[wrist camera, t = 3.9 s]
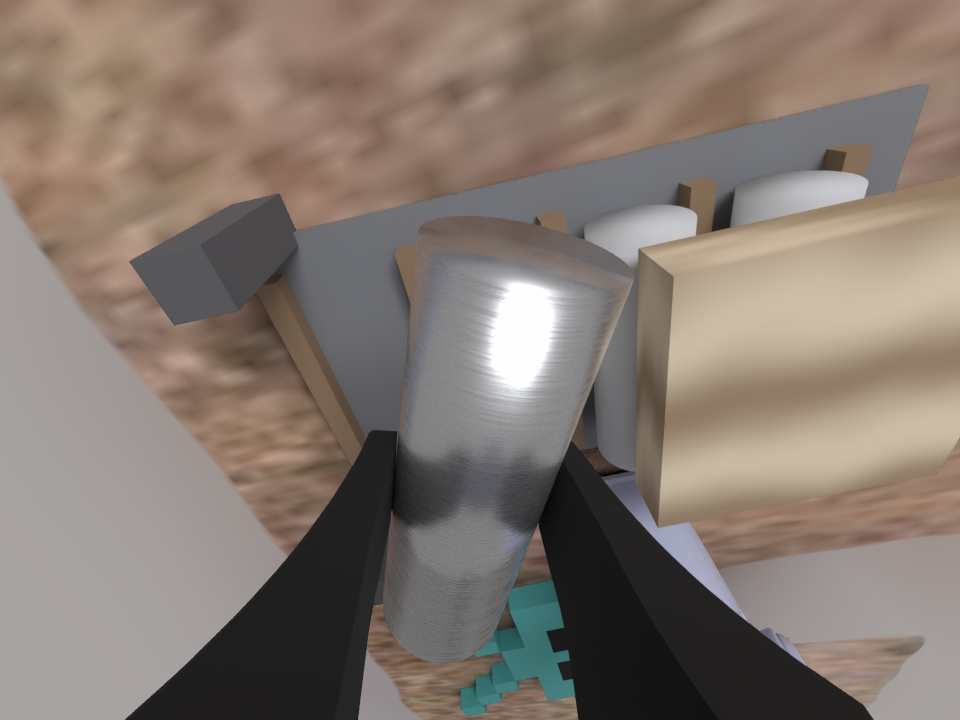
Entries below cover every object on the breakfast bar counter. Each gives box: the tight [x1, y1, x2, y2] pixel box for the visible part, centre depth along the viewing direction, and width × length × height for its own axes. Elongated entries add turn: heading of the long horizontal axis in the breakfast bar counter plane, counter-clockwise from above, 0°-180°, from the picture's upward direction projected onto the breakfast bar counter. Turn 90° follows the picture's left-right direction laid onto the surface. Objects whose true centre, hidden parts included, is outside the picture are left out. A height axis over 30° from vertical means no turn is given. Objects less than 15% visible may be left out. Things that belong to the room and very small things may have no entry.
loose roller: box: [383, 216, 634, 663], centre depth 11 cm, size 12×4×4 cm, turn 170°
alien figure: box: [461, 580, 575, 716], centre depth 39 cm, size 20×2×20 cm
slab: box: [635, 177, 960, 528], centre depth 16 cm, size 12×12×2 cm
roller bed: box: [129, 85, 930, 606], centre depth 18 cm, size 19×28×6 cm
